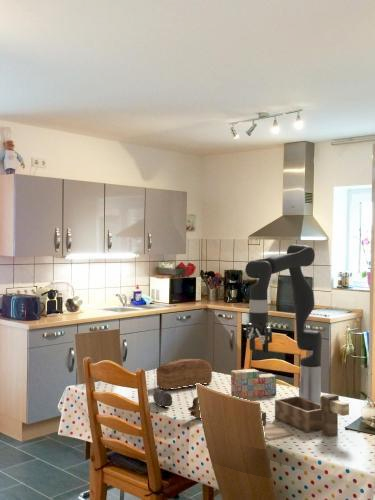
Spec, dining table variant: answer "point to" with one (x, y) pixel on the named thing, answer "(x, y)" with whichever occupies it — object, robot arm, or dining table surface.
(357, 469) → the dining table surface
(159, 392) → the perforated stone tool
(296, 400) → the brown wooden blocky piece
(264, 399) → the dining table surface
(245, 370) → the stack of blocks
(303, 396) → the robot arm
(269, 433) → the lid
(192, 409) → the wooden carving
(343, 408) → the wooden key
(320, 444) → the dining table surface
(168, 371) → the bread
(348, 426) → the dining table surface
